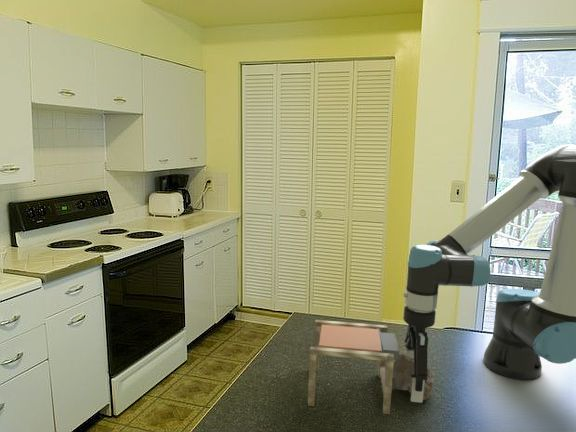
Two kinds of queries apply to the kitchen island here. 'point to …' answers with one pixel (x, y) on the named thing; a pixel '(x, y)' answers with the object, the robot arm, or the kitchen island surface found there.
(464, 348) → the kitchen island surface
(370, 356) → the frame
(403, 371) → the rock
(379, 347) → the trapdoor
